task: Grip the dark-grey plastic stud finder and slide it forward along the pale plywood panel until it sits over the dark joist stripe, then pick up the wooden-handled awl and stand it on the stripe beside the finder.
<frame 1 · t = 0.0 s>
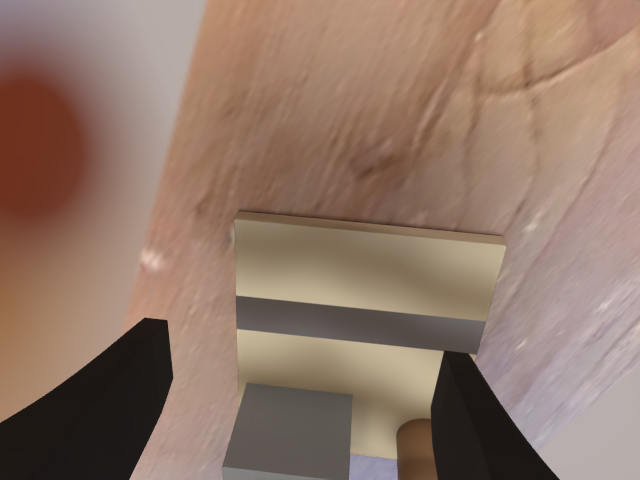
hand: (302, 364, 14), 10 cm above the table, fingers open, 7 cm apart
stud finder: (297, 416, 28), point 1 cm above the table, touching plywood panel
awl: (422, 436, 28), point 1 cm above the table, touching plywood panel
plywood panel: (354, 346, 26), on the table
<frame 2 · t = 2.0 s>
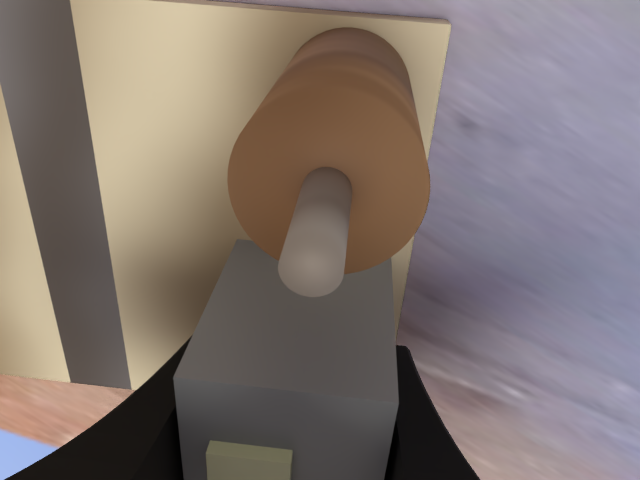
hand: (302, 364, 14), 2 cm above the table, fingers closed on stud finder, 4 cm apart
stud finder: (308, 329, 15), point 1 cm above the table, touching gripper, plywood panel
awl: (346, 95, 12), point 1 cm above the table, touching plywood panel
plywood panel: (154, 222, 15), on the table
when the fingers open (2 cm above the table, at t = 4.3 s): stud finder stays where it is, resting on plywood panel.
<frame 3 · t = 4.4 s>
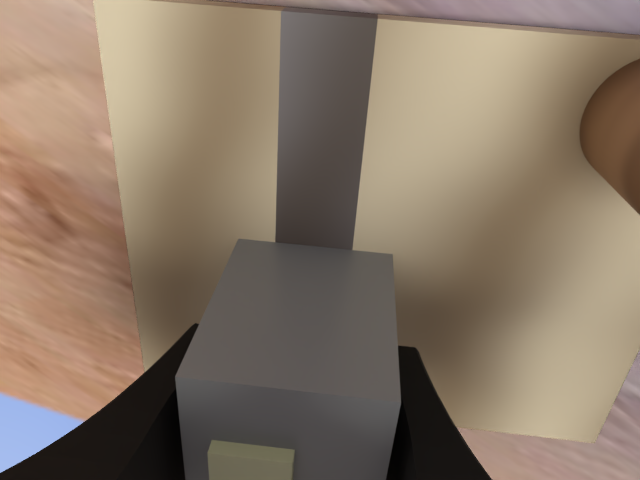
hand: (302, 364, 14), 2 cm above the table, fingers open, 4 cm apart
stud finder: (309, 329, 15), point 1 cm above the table, touching plywood panel
plywood panel: (389, 245, 14), on the table
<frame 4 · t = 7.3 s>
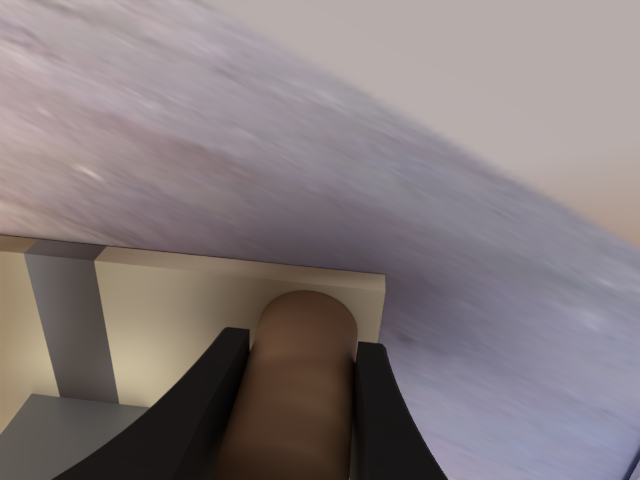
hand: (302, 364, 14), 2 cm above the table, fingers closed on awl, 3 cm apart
stud finder: (102, 456, 19), point 1 cm above the table, touching plywood panel
awl: (308, 330, 15), point 1 cm above the table, touching gripper, plywood panel
plywood panel: (158, 394, 18), on the table
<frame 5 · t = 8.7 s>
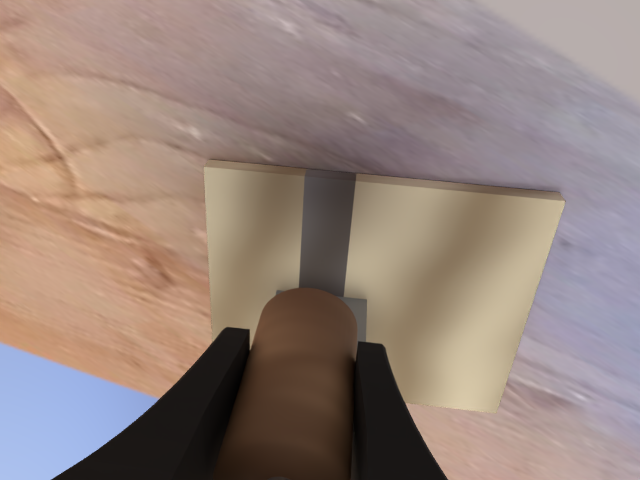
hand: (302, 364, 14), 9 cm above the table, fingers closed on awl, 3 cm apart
stud finder: (318, 342, 25), point 1 cm above the table, touching plywood panel
awl: (308, 327, 15), point 8 cm above the table, touching gripper
plywood panel: (366, 293, 24), on the table
when the fingers open (3 cm above the table, at t = 10.2 s): awl stays where it is, resting on plywood panel.
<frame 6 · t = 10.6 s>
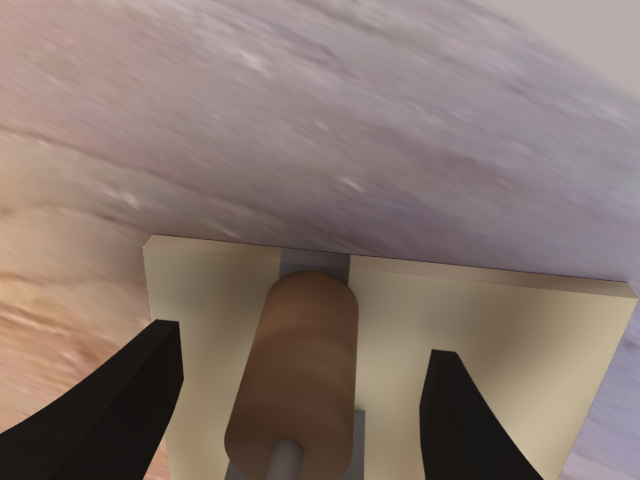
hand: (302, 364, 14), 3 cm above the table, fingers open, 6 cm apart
stud finder: (302, 457, 19), point 1 cm above the table, touching plywood panel
awl: (311, 309, 16), point 1 cm above the table, touching plywood panel
plywood panel: (364, 397, 18), on the table
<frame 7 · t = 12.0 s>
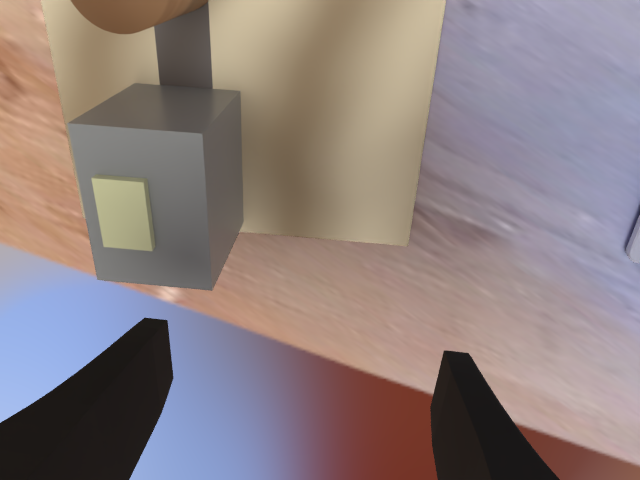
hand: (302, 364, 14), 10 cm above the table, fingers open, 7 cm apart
stud finder: (192, 156, 21), point 1 cm above the table, touching plywood panel
plywood panel: (244, 91, 20), on the table
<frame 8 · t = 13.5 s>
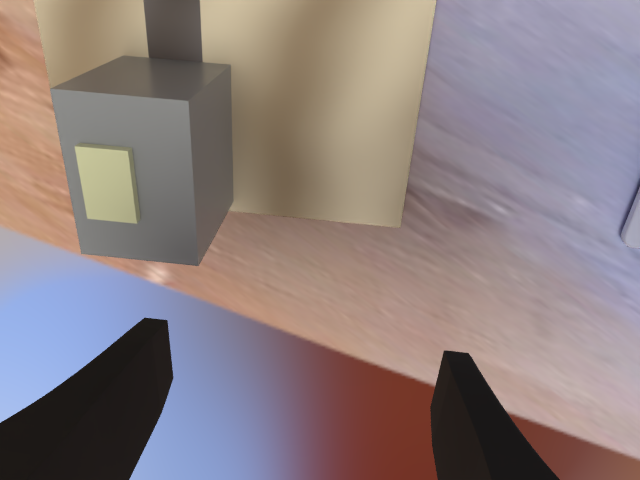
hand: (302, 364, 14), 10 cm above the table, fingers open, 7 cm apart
stud finder: (181, 133, 21), point 1 cm above the table, touching plywood panel
plywood panel: (235, 66, 20), on the table
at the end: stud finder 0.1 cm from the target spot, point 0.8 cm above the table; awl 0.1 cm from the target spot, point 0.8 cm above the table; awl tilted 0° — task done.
